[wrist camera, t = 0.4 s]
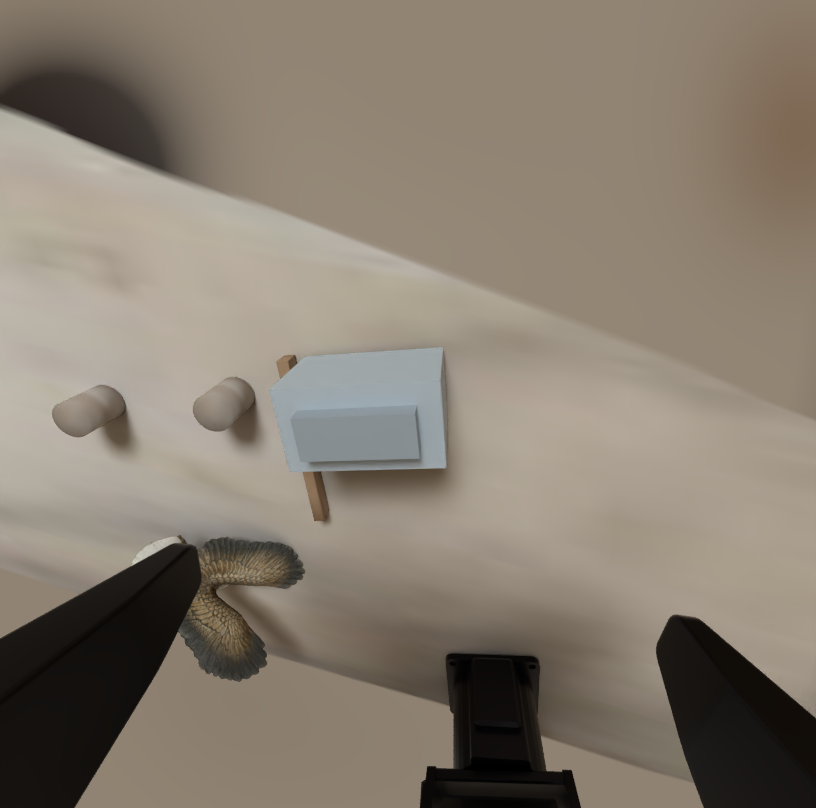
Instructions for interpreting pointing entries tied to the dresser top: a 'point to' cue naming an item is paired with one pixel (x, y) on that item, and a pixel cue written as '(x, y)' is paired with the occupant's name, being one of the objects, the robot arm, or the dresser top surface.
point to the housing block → (364, 411)
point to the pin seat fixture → (208, 409)
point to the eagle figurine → (214, 619)
